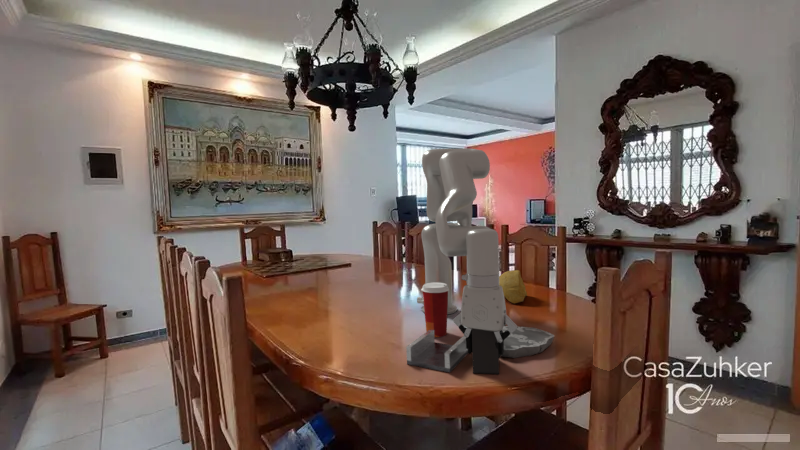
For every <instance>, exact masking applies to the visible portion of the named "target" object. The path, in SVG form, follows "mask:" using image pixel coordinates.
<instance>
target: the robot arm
mask: <svg viewBox="0 0 800 450" xmlns="http://www.w3.org/2000/svg"><path fill="white" fill-rule="evenodd" d="M490 164H491V163H490V159H489V156H488V154H487V153H486V152H485V151H484V150H482V149H477V148H470V147H469V148H434V149H428V150H426V151H425V152H424V153H423V154H422V158H421V167H422V170H423V174H424V177H425V179H426V208H425V209H426V216H427V219H428V220H429V221H431V222H435V223H430V224H428V225H425V226H424V227H423V228H422V230H421V235H420V236H421V242H422V247H423V256H424V273H425V275H424V279H425V284H426V283H435V282H437V283H445V284H447V286H448V288H449V290H448V308H447V315H450V314H451V315H452V314H454V313H456V312H457V310H458V306H456V305H455V304H453V280H452V279H453V277H452V276H453V275H452V262H451V259H450V257H466V273H465V274H462V275H461V280H462V281H464V282H465V281H466V282H465V283H466V285H464V286H463V289H462V295H461V296H462V297H461V306H460V308H461V309H460V312H459V313H458V314H457V315H456V316H455V317H454V318H453V319H452V321H453V323H454V325H456V326H457V327H458V329H459V330H460V332H461V333H462V334H463V336H465V337H466V349H468V354H467V355H472V329H478V330H485V331H493V332H494V333H495V336H496V338H497V341H498V342H495V345H496V348H497V349H498V358H499V359H500V358H501V357H502V356H501V355H503V353H504V339H506V338H507V337H508V336H509V335H510V334H511V333H513V332H514V331H515V330H516V329H517V326H518V325H517V324H516V323H515V322H514V321H513V320H512V319H511V318H510V316H508V315H507V307H506V298H505V297H504V293H503V289H502V286H499V276H500V257H499V256H500V255H499V252H500V251H499V249H500V248H499V233H498V231H497V230H496V229H493V228H490V227H489V226H485V225H475V226H474V225H472V221H473V202H474V201H475V200H476V198H477V197H478V196H477V195H478V194H477V193H478V192H477V188H476V185H475V182H474V180H481V179H482V180H483V179H485V178H487V177H488V175H489V173H490V169H491V168H490V167H491V165H490ZM448 222H450V223H448ZM451 222H452V223H451ZM416 304H422V305H423V306H422V307H421V310H422V311H421V312H423V313H424V314H425V311H424V300H423V296H418V297H417V298H416ZM504 326H508V327H509V328H508V329H507V330H506V331H505V332H503V327H504Z"/></svg>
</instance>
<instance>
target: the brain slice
mask: <svg viewBox="0 0 800 450" xmlns="http://www.w3.org/2000/svg"><path fill="white" fill-rule="evenodd" d="M508 328H509V327H508V325H505V326H504V327H503V332H505V331H506V330H507V329H508ZM554 338H555V335H554V333H551V332H549V331H546V330H543V329H541V328H537V327H529V326H528V327H527V326H518V325H517V329H516V330H515V331H514V332H513V333H511V334H510V335H509V336H508V337H507V338H506V339H504V353H503V355H501V356H500V357H504V358H512V359H517V358H521V357H530V356H533V355H536V354H541V353H543V351H544V350H546V349H547V348H548V347H550V346H551V344H552V343H553V341H554Z"/></svg>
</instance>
